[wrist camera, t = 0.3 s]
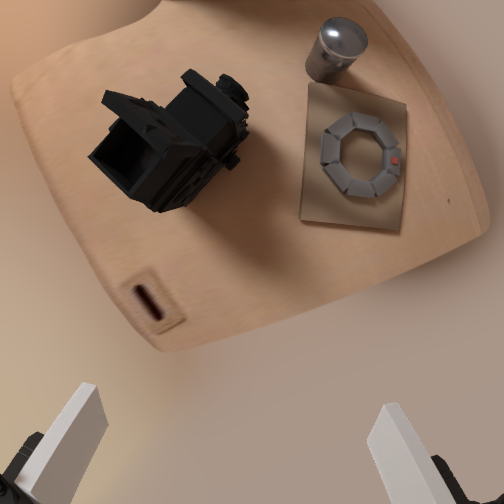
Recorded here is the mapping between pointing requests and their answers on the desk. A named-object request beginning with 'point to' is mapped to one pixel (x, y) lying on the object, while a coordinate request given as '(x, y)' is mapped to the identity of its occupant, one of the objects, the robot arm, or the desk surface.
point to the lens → (335, 50)
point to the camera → (173, 141)
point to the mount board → (353, 158)
